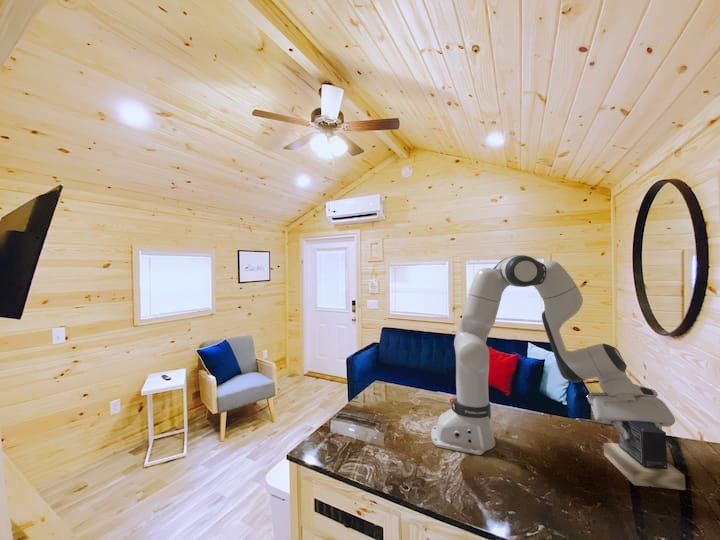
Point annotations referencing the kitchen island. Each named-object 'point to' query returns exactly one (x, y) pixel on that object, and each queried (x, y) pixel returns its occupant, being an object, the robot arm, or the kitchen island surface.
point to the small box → (645, 444)
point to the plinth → (644, 470)
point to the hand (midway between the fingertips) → (644, 439)
